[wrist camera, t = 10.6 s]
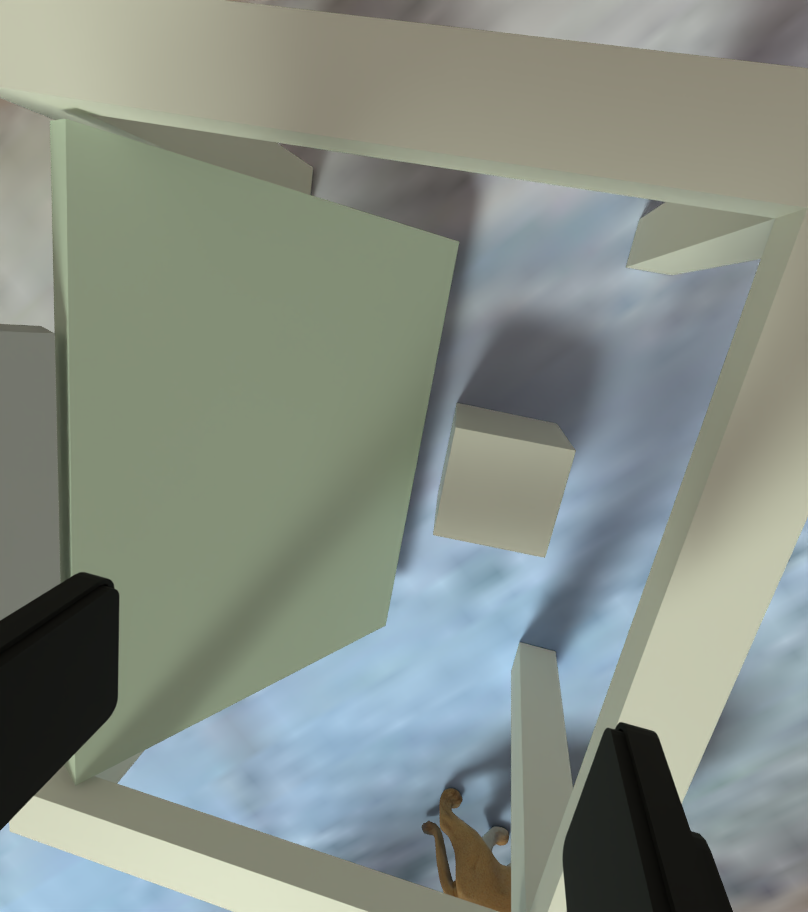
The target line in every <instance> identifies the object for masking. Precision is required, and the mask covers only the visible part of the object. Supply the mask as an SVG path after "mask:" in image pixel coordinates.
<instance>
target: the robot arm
mask: <svg viewBox="0 0 808 912" xmlns="http://www.w3.org/2000/svg"><path fill="white" fill-rule="evenodd" d="M119 598H120V596H119V592H118V590H116V589H115V588H114V583H113V582H112V580H110V579H108V578H104V577H100V576H97V575H93V574H90V573H86V572H79V573H77V574H75V575H73V576H71V577H70V578H68V579H67V580H65V581H63V582H62V583H60V584H59V585H57V586H55V587H54V588H52V589H50V590H49V591H47V592H46V593H44V594H42V595H41V596H39V597H37V598H36V599H34V600H33V601H31V602H29V603H28V604H26V605H25V606H23V607H21V608H20V609H18V610H16V611H15V612H13V613H12V614H10V615H8V616H7V617H5V618H3V619H2V620H0V830H1V829H2V828H3V827H4V826H5V825H6V824H7V823H8V822H9V821H10V820H11V819H12V818H13V817H14V816H15V815H16V814H17V813H18V812H19V811H20V810H21V809H22V808H23V807H24V806H25V805H26V804H27V803H28V802H29V800H30V799H31V798H32V797H33V796H34V795H35V794H36V793H37V792H38V791H39V790H40V789H41V788H42V787H43V786H44V785H45V784H46V783H47V782H48V781H49V780H50V779H51V778H52V777H53V776H54V775H55V774H56V773H57V772H58V771H59V770H60V769H61V768H62V767H63V766H64V764H65V763H66V762H67V761H68V760H69V759H70V758H71V757H72V756H73V755H74V754H75V753H76V752H77V751H78V750H79V749H80V748H81V747H82V746H83V745H84V744H85V743H86V742H87V741H88V740H89V739H90V738H91V737H92V736H93V735H94V734H95V733H96V732H97V731H98V729H99V728H100V727H101V726H102V725H103V724H104V723H105V722H106V721H107V720H108V719H109V718H110V717H111V715H112V713H113V712H114V710H115V708H116V705H117V701H118V662H119ZM562 861H563V874H564V885H565V896H566V907H567V912H733V911H732V908H731V905H730V902H729V900H728V897H727V894H726V891H725V889H724V886H723V883H722V881H721V878H720V875H719V872H718V870H717V867H716V864H715V861H714V859H713V856H712V853H711V851H710V849H709V846H708V844H707V842H706V840H705V839H704V838H703V837H702V836H701V835H700V834H698V833H695V832H692V831H691V830H690V828H689V825H688V822H687V819H686V816H685V813H684V810H683V807H682V804H681V801H680V798H679V795H678V792H677V789H676V787H675V784H674V781H673V778H672V775H671V772H670V769H669V766H668V763H667V760H666V757H665V754H664V751H663V748H662V745H661V743H660V740H659V737H658V735H657V733H656V732H654V731H652V730H648V729H645V728H641V727H638V726H634V725H630V724H627V723H623V722H619V723H618V724H617V726H616V728H615V729H611V728H606V729H605V730H604V733H603V735H602V738H601V740H600V743H599V746H598V749H597V752H596V754H595V757H594V760H593V763H592V765H591V768H590V771H589V774H588V776H587V779H586V782H585V785H584V787H583V790H582V793H581V796H580V799H579V801H578V804H577V807H576V810H575V812H574V815H573V818H572V821H571V823H570V826H569V829H568V832H567V834H566V837H565V841H564V846H563V858H562Z"/></svg>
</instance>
